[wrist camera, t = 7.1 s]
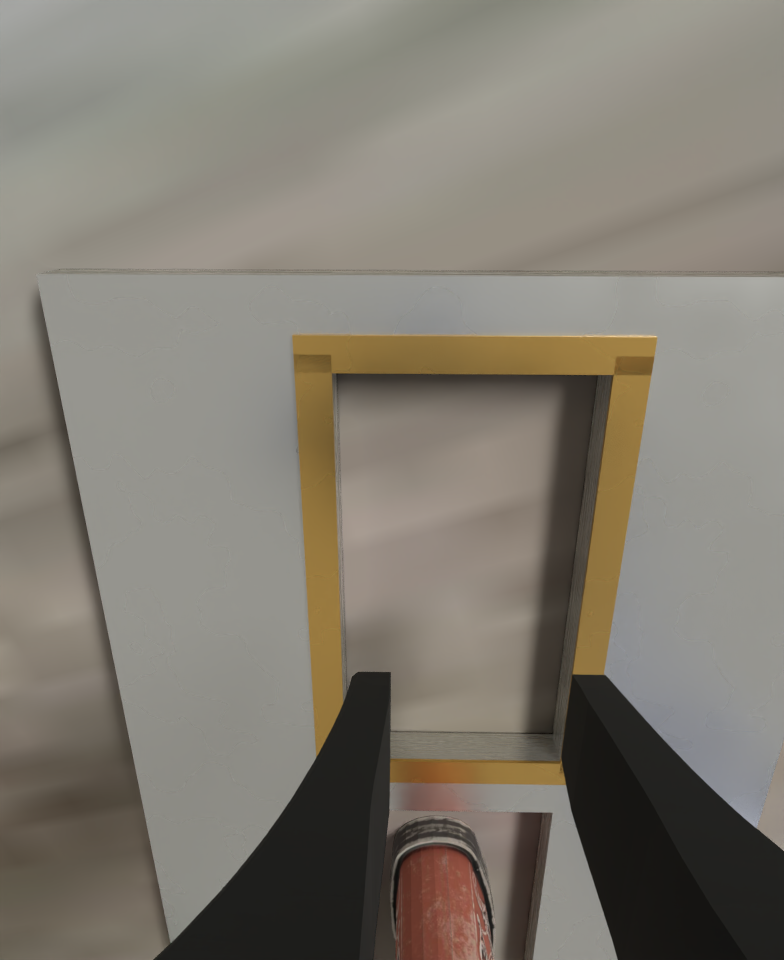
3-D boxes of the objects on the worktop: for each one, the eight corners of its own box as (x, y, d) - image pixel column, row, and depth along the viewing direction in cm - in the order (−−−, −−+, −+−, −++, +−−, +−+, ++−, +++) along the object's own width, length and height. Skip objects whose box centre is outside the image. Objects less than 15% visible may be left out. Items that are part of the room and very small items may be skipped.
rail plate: (671, 1038, 25) (683, 1073, 24) (201, 1029, 25) (193, 1063, 24) (892, 272, 14) (929, 278, 13) (59, 269, 14) (33, 274, 13)
